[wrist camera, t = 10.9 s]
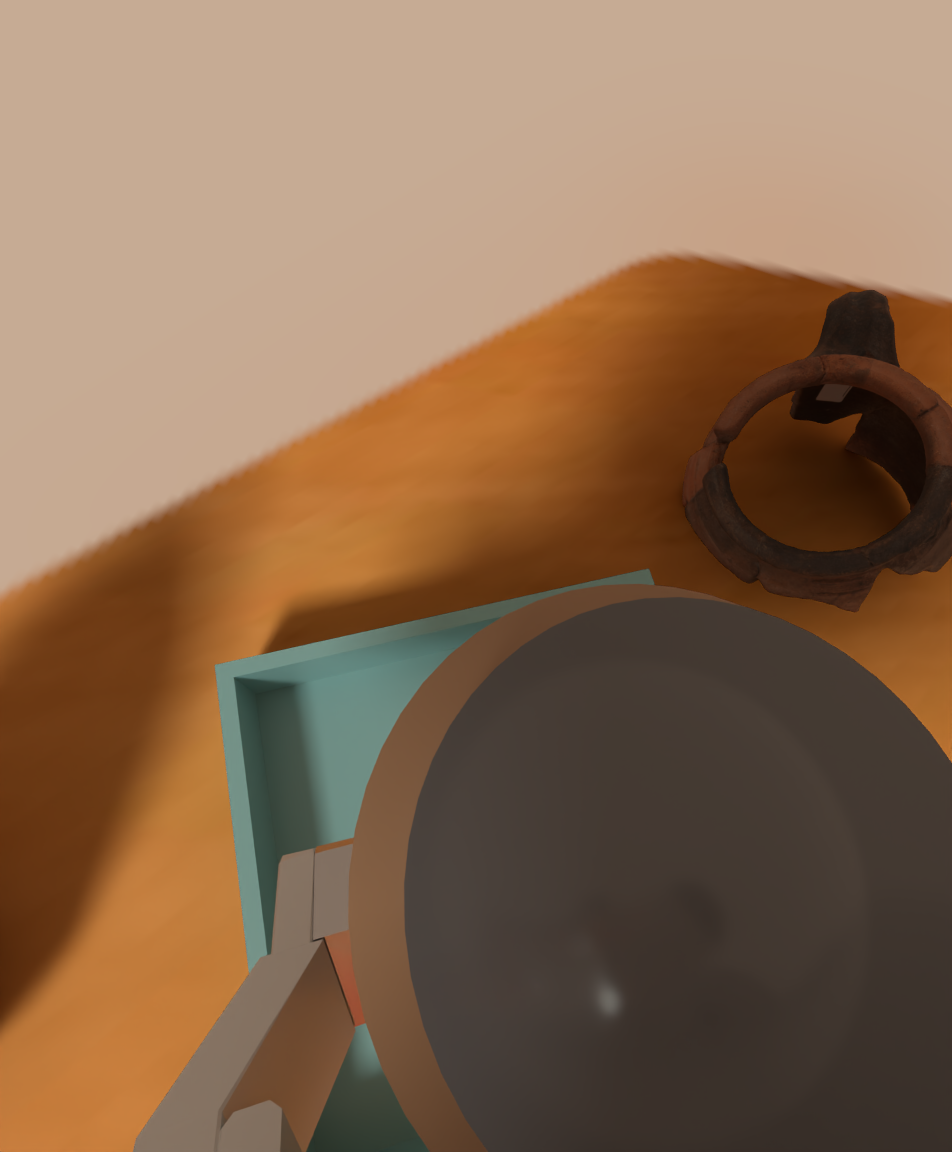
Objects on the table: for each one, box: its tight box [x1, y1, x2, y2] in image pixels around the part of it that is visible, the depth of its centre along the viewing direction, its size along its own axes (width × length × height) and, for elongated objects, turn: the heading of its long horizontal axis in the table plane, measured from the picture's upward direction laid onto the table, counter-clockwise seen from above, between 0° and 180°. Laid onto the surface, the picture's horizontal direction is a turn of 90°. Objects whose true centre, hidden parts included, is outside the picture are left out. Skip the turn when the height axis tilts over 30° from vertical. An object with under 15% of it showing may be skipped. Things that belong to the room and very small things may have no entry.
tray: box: [215, 569, 655, 1152], centre depth 19 cm, size 14×14×3 cm
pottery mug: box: [683, 290, 952, 612], centre depth 24 cm, size 12×10×8 cm
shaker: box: [348, 584, 952, 1152], centre depth 10 cm, size 5×5×12 cm
